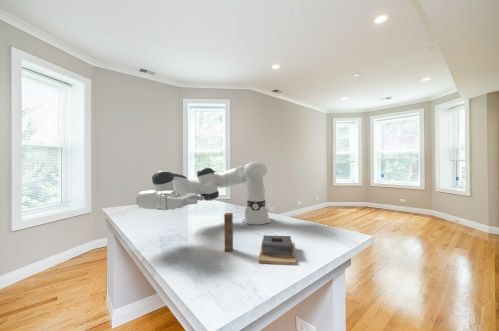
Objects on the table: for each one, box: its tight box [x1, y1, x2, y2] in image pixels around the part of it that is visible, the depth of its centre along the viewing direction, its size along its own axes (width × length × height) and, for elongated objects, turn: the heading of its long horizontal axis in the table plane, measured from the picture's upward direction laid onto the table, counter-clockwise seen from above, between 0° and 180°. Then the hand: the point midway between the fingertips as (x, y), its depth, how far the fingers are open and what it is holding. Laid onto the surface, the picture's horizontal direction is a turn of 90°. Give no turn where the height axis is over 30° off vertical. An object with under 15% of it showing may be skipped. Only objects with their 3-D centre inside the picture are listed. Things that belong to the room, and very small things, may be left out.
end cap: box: [258, 234, 297, 266], centre depth 99 cm, size 24×14×5 cm, turn 174°
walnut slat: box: [223, 212, 234, 253], centre depth 101 cm, size 3×3×16 cm
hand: (200, 200), depth 104 cm, fingers open, 8 cm apart
